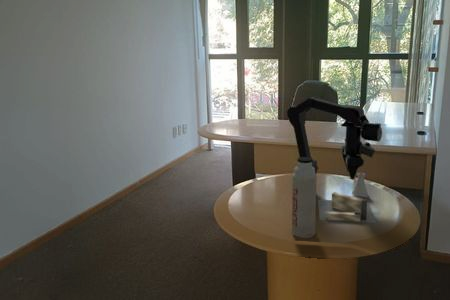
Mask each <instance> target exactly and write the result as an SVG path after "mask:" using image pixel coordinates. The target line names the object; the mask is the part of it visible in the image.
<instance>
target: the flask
mask: <svg viewBox="0 0 450 300" xmlns="http://www.w3.org/2000/svg"><path fill="white" fill-rule="evenodd" d="M356 176H357V180H356V184H355V186H354V188H353V190H352V193H351V195H354V197H363V198H369V193H368V189H367V186H366V183H365V176H366V173H364V172H358V173H357V172H356Z"/></svg>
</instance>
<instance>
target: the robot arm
mask: <svg viewBox="0 0 450 300" xmlns="http://www.w3.org/2000/svg"><path fill="white" fill-rule="evenodd" d="M311 109H315V110H319V111H322V112H325V113H329V114H334V115H336V116H338V117H340V118H341V119H343V120H344V122H343V123H342V124H340V126H341V127H343V128H344V127H345V129H346V130H345V138H344V143H345V144H344V145H343V146H341V149H340V153H341V157H342V159H343V162H344V165H345V168H346V170H347V172H348V175H349V178H350V180H354V179H355V176H356V175H357V172H358V170H359V169H358V168H360V167H363V166H364V165H365V164H364V163H365V159H364V158H363V157H362V155H364V156H367V157H369V158H373V157H374V155H375V153H376V149H375V148H374V147H373V146H371V142H372V141H373V142H380V141H381V139H382V136H383V129H382V127H381V123H378V122H377V123H374V122H373V123H372V122H370V121H369V119H368V117H367V116H366V114H365V110H364V109H363V107H362V106H360V105H352V104H341V103H340V104H339V103H335V102H332V101H328V100H325V99H320V98H318V97H316V96H312V97H309V98H307V99H306V100H304V101H302V102H301V103H299V104H298V105H293V106H290V107H288V109H287V110H286V116H287V119H288V121H289V123H290V124H291V126H292V127H293V131H294V136H295V141H296V145H297V146H296V147H297V152H298V156H299V157H298V158H300V157H309V158H312V156H311V151H310V145H309V141H308V137H307V136H308V134H307V129H306V126H305V125H306V120H307V113H308V112H309V111H310V110H311ZM361 139H363V140H365V141H366V142H364V143H363V142H362V141H361ZM367 141H371V142H367ZM312 167H314V168H315V174H316V175H317V173H318V170H319V167H318V161H317V160H316V159H315V160H313V158H312Z"/></svg>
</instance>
